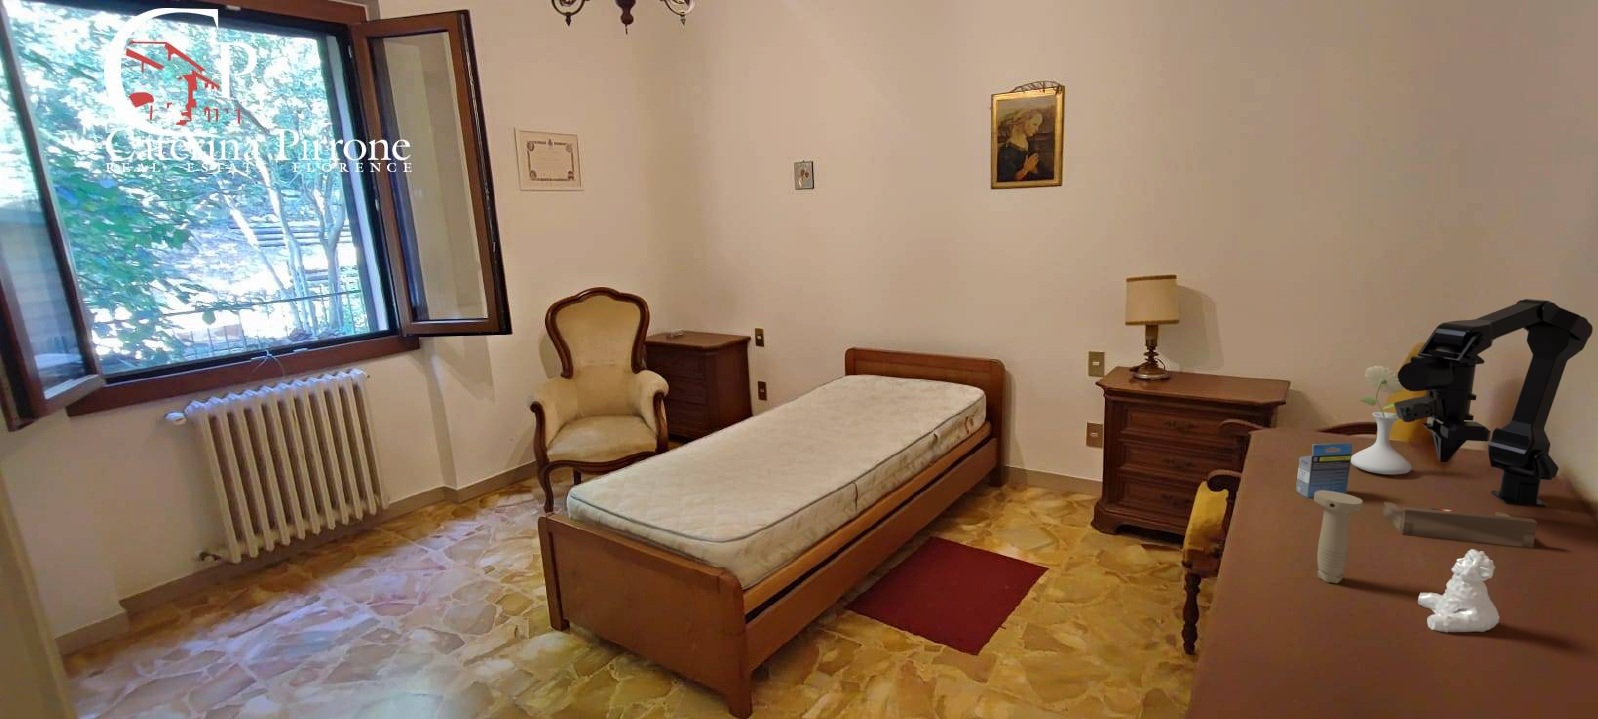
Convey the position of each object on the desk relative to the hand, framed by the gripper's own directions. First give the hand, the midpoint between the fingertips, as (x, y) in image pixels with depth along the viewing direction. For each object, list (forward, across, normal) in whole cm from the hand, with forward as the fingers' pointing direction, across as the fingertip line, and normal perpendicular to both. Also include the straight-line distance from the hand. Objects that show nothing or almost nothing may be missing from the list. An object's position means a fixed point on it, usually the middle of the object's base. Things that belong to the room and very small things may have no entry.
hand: (1442, 461), depth 142 cm
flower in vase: (+11, -26, -2) cm, 28 cm away
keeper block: (+11, +8, 0) cm, 14 cm away
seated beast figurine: (+11, +47, -13) cm, 50 cm away
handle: (+11, +38, -27) cm, 48 cm away
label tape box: (+11, -5, -18) cm, 22 cm away
